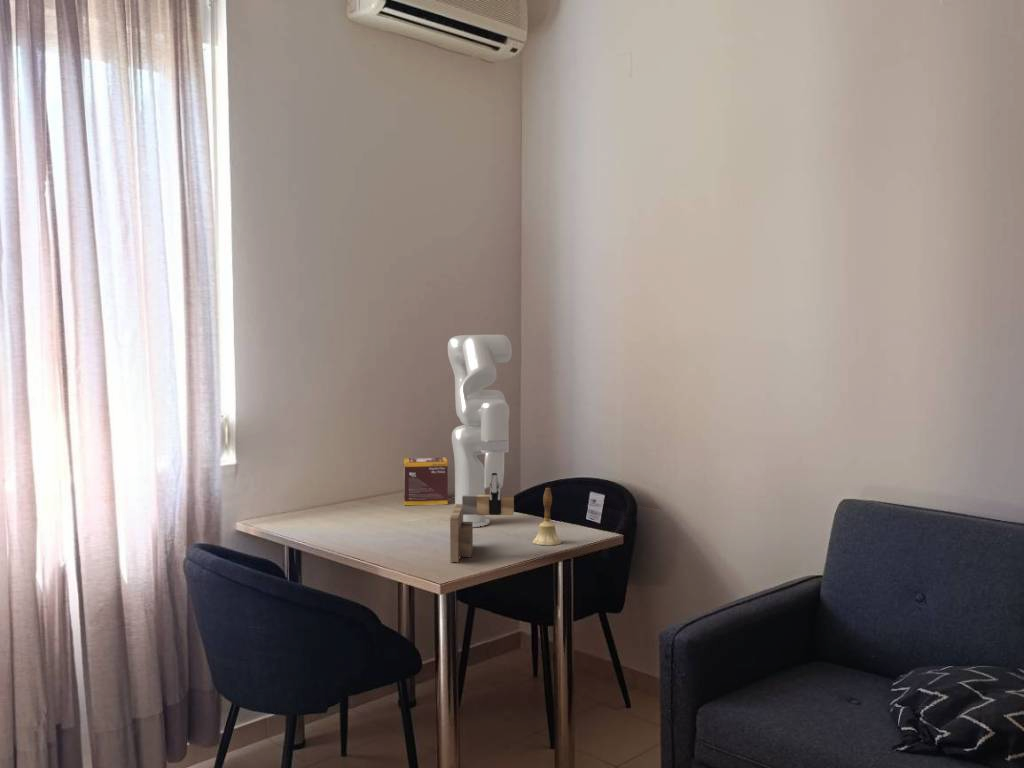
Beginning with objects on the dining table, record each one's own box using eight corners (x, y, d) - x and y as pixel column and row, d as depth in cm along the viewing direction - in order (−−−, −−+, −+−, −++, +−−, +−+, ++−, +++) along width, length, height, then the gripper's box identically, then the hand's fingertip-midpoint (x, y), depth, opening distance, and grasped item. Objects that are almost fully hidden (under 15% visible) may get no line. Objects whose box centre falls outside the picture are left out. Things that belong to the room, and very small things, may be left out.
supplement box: (448, 504, 332) (448, 460, 331) (404, 506, 330) (404, 461, 329) (446, 499, 342) (446, 457, 341) (403, 500, 340) (403, 457, 339)
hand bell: (541, 538, 278) (541, 484, 277) (566, 541, 274) (566, 487, 273) (527, 543, 271) (527, 489, 270) (552, 547, 267) (552, 491, 266)
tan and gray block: (463, 512, 260) (463, 494, 259) (513, 512, 259) (513, 494, 259) (462, 515, 256) (462, 496, 256) (513, 515, 256) (513, 496, 256)
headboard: (456, 545, 269) (456, 503, 268) (473, 545, 269) (473, 503, 268) (450, 562, 249) (450, 517, 248) (469, 562, 249) (469, 518, 248)
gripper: (482, 443, 265) (483, 507, 266) (479, 450, 249) (480, 518, 250) (509, 443, 265) (509, 507, 266) (507, 449, 249) (508, 518, 249)
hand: (495, 512), depth 258 cm, fingers closed on tan and gray block, 3 cm apart
